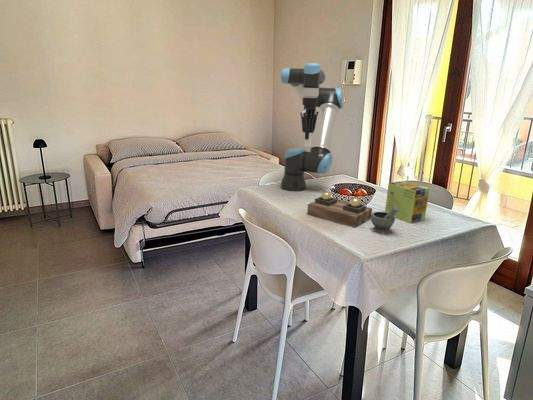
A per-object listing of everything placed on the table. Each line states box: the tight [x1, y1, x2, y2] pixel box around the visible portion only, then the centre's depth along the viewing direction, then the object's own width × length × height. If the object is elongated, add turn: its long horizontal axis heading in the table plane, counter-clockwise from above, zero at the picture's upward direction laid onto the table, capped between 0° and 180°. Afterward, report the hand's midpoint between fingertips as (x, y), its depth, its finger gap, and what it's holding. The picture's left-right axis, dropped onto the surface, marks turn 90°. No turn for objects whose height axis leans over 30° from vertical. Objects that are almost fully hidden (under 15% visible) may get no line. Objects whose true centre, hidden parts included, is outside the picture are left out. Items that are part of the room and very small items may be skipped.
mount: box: [306, 195, 373, 228], centre depth 177 cm, size 16×25×7 cm, turn 50°
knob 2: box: [349, 197, 361, 209], centre depth 171 cm, size 4×4×5 cm
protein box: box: [384, 180, 431, 224], centre depth 178 cm, size 10×15×16 cm
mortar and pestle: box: [370, 206, 399, 234], centre depth 160 cm, size 11×9×12 cm
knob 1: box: [321, 190, 332, 201], centre depth 180 cm, size 4×4×5 cm
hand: (307, 145), depth 190 cm, fingers closed
